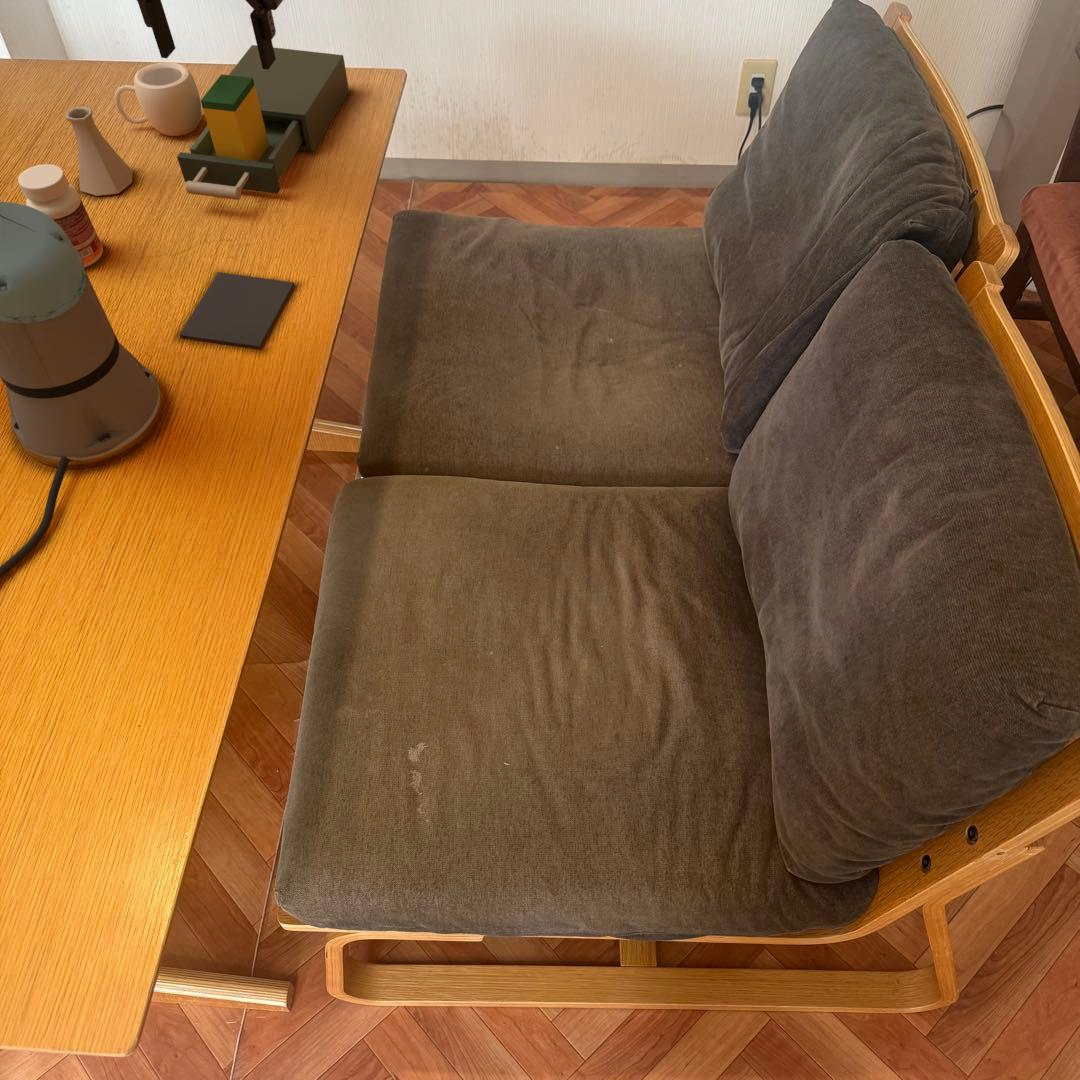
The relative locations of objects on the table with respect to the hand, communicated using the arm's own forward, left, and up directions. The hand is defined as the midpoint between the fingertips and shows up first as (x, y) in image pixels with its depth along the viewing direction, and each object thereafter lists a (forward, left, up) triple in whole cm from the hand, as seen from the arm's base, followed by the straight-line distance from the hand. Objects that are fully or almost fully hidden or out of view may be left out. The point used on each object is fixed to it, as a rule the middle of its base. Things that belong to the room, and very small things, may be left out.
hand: (218, 58), depth 114 cm
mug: (+8, +16, -16) cm, 24 cm away
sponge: (0, 0, -13) cm, 13 cm away
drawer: (0, 0, -14) cm, 14 cm away
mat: (-29, -10, -15) cm, 34 cm away
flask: (-7, +18, -16) cm, 25 cm away
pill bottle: (-23, +14, -16) cm, 31 cm away
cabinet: (+15, 0, -15) cm, 21 cm away
